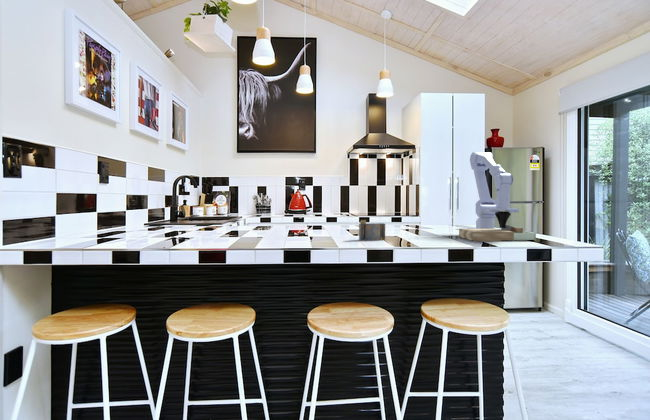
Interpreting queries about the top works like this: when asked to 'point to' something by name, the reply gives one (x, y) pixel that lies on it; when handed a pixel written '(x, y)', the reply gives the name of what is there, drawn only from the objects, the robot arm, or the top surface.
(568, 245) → the top surface
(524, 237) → the bin
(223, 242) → the top surface
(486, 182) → the robot arm
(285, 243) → the top surface
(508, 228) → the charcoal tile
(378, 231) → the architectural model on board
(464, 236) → the oak bench
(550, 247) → the top surface
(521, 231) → the walnut tile
